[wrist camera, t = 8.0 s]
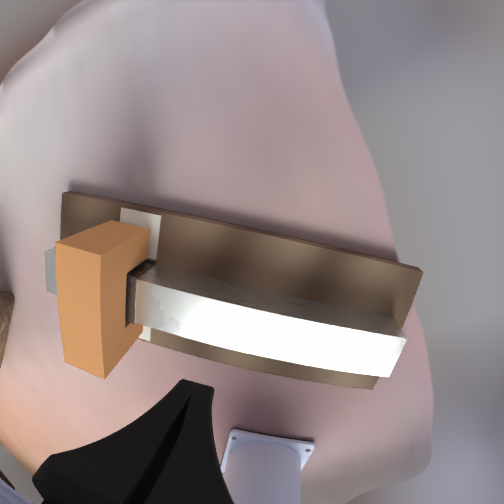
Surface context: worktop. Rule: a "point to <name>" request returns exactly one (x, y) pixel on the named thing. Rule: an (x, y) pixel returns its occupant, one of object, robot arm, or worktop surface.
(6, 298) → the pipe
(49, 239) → the worktop surface
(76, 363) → the collar
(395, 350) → the stand
